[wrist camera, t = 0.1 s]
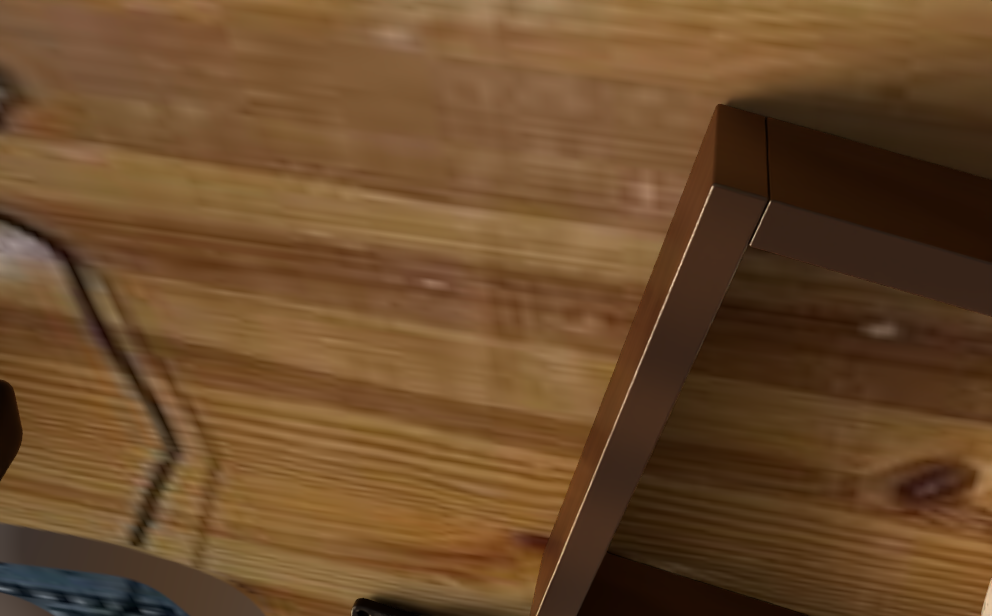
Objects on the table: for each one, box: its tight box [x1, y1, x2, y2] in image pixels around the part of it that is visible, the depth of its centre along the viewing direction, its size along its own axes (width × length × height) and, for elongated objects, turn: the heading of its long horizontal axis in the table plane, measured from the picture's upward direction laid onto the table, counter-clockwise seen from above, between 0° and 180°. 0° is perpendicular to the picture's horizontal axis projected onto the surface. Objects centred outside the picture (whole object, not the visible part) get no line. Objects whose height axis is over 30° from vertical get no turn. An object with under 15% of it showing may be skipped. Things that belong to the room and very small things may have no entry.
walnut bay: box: [530, 104, 992, 616], centre depth 25 cm, size 18×11×4 cm, turn 169°
